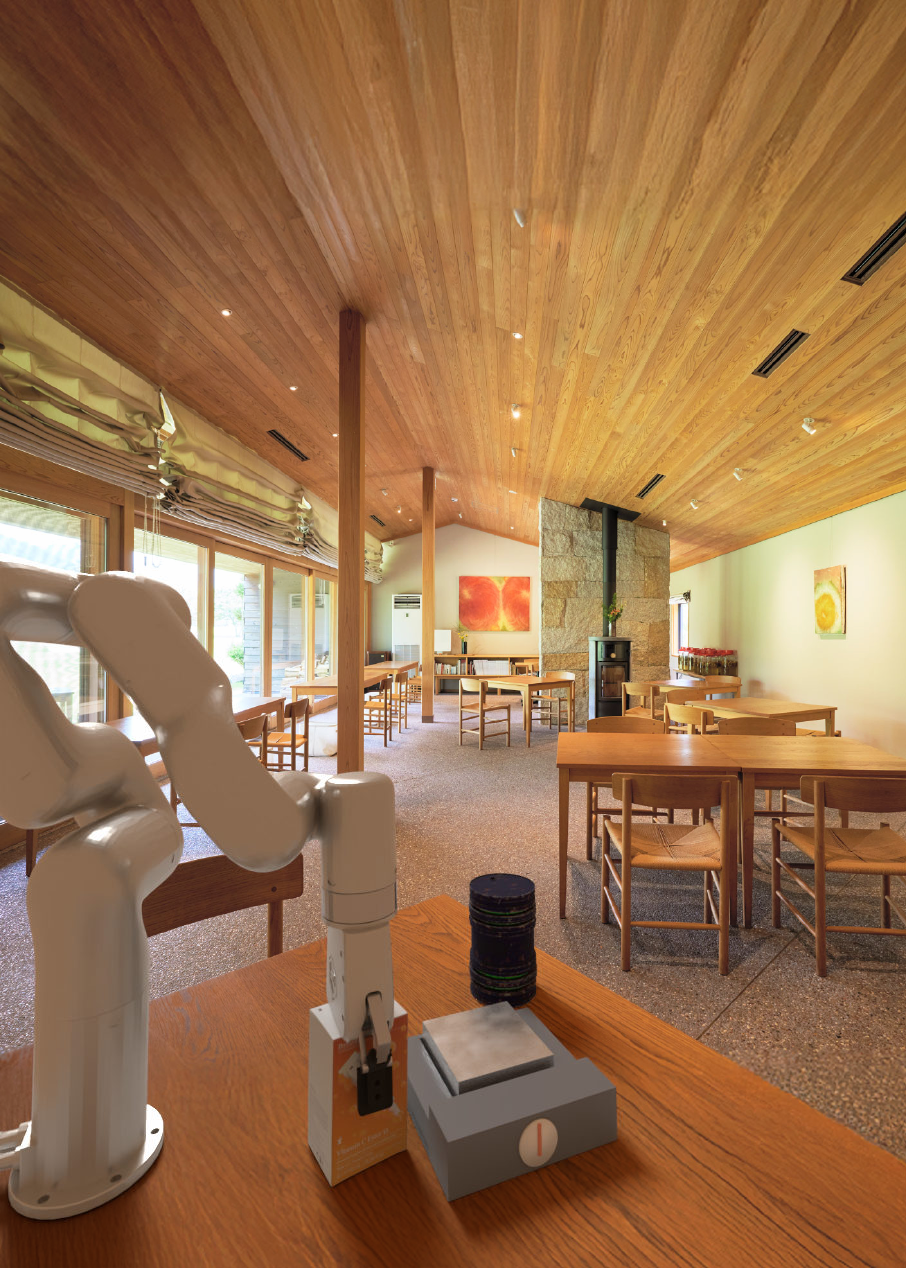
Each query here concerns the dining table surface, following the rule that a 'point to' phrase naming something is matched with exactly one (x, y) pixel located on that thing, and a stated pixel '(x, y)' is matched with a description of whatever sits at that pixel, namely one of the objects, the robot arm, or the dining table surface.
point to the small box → (352, 1099)
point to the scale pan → (483, 1048)
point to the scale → (509, 1117)
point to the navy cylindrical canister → (502, 939)
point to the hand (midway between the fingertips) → (362, 1076)
